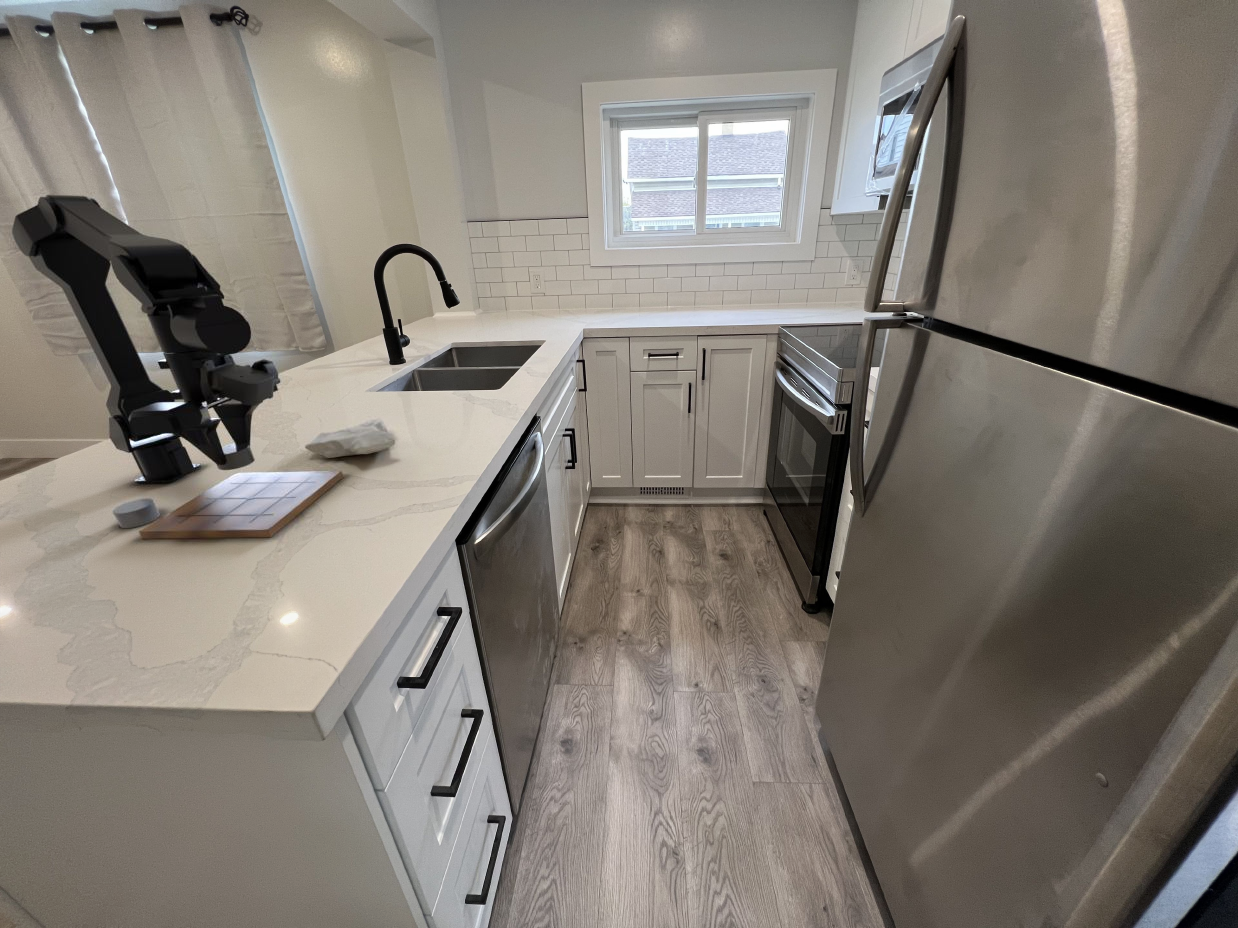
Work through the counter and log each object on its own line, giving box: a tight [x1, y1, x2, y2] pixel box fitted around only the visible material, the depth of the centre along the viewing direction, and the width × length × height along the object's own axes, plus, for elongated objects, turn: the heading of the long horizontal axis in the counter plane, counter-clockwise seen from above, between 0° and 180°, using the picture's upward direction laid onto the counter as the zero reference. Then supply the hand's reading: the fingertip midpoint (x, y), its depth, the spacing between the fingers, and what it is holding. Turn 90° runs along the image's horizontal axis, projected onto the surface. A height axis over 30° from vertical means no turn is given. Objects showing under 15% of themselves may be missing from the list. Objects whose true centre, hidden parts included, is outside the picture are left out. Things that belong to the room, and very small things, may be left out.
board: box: [138, 470, 344, 540], centre depth 74 cm, size 18×18×1 cm
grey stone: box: [112, 497, 161, 529], centre depth 71 cm, size 4×4×2 cm
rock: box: [304, 417, 396, 459], centre depth 92 cm, size 21×5×15 cm
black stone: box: [216, 442, 256, 471], centre depth 71 cm, size 4×4×2 cm
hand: (234, 457), depth 71 cm, fingers closed on black stone, 4 cm apart
